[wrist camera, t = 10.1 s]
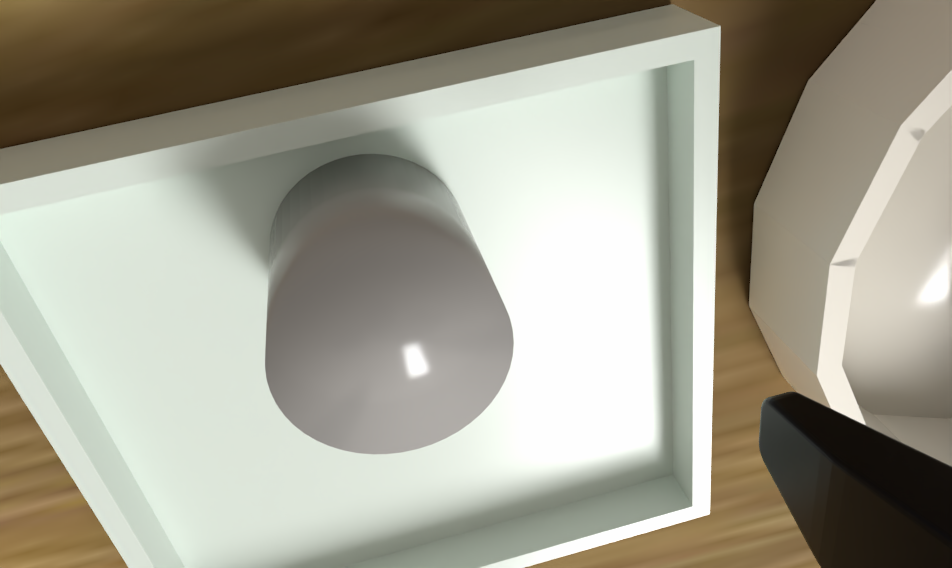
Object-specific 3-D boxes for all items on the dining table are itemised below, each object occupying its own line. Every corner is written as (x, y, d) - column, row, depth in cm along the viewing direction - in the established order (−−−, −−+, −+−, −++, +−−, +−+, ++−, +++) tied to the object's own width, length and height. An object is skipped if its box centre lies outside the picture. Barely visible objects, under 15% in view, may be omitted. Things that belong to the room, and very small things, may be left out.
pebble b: (479, 302, 17) (526, 419, 14) (300, 346, 16) (304, 479, 13) (448, 133, 15) (496, 223, 11) (242, 180, 14) (228, 287, 11)
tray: (677, 462, 22) (709, 514, 20) (196, 596, 21) (189, 663, 19) (672, 3, 15) (720, 25, 13) (-53, 160, 14) (-99, 206, 12)
